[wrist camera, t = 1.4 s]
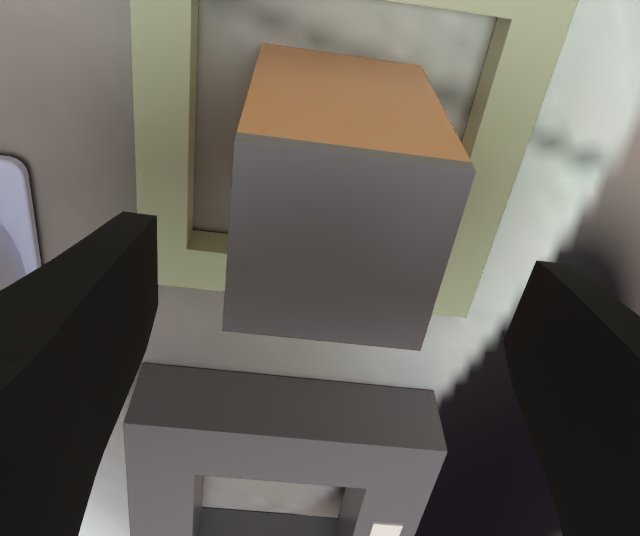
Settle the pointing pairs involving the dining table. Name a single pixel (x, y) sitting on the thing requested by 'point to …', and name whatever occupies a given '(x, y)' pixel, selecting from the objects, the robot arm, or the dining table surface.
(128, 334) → the robot arm
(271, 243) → the plug
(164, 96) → the tray
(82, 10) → the dining table surface
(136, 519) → the socket block
